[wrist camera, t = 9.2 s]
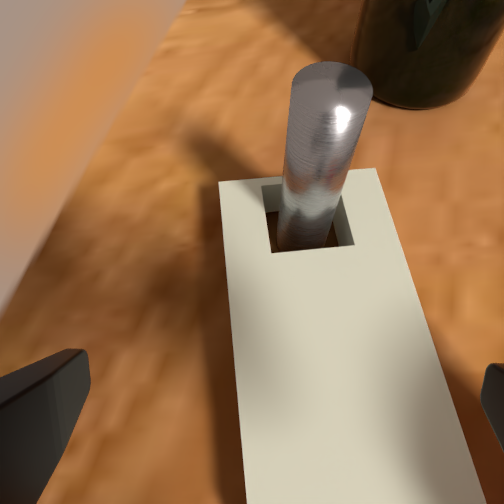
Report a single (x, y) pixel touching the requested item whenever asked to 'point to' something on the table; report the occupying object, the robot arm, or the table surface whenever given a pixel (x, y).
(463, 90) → the beer bottle
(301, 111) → the peg
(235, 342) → the socket board
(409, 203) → the table surface
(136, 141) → the table surface
